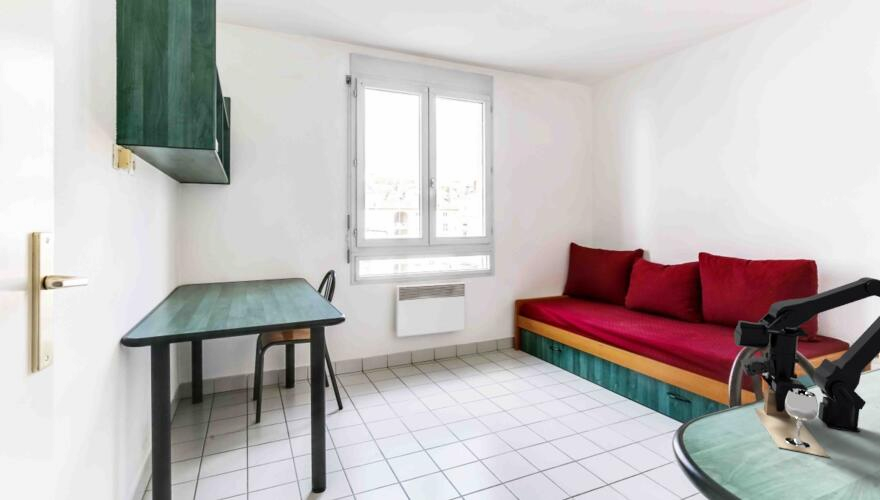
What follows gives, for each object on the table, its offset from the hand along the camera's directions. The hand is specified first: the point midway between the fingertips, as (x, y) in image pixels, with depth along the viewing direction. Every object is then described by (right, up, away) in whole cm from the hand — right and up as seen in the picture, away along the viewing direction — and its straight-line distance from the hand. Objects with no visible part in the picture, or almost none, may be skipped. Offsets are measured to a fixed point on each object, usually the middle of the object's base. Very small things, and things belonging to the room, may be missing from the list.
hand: (777, 408), depth 114 cm
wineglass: (-7, -3, -14) cm, 16 cm away
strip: (-3, -2, -7) cm, 8 cm away
